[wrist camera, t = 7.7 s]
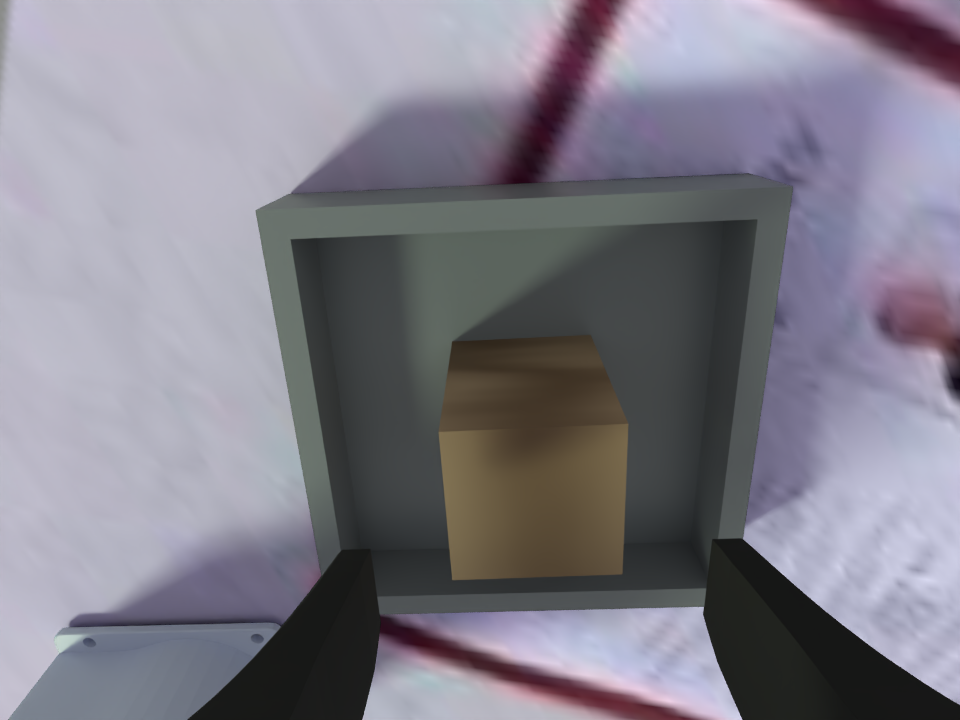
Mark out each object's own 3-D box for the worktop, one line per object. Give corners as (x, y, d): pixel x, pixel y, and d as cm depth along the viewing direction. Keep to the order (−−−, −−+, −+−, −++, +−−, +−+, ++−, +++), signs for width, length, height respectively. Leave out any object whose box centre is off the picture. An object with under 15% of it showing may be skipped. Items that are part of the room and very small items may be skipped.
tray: (346, 557, 25) (328, 615, 22) (288, 193, 19) (255, 210, 17) (705, 548, 24) (733, 605, 22) (748, 173, 19) (793, 186, 16)
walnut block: (461, 459, 22) (452, 580, 17) (452, 341, 21) (438, 432, 15) (589, 454, 22) (622, 574, 17) (590, 335, 20) (628, 423, 15)
